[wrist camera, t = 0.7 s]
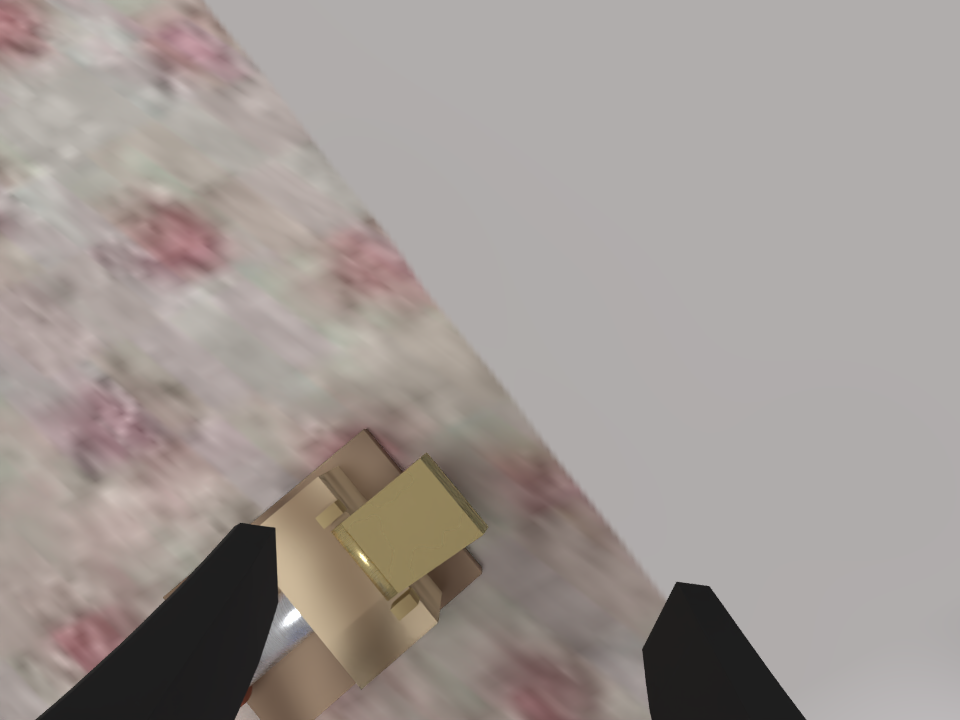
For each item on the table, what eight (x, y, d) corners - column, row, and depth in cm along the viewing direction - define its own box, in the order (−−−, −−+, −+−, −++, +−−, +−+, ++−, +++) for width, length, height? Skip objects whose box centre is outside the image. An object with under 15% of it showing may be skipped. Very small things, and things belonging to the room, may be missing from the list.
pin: (245, 696, 32) (214, 736, 28) (203, 644, 32) (168, 677, 29) (382, 577, 33) (371, 601, 29) (341, 527, 33) (324, 544, 29)
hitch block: (287, 736, 33) (244, 818, 27) (171, 591, 34) (101, 637, 27) (481, 567, 34) (485, 607, 28) (366, 428, 34) (342, 435, 28)
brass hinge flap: (393, 591, 29) (384, 604, 28) (338, 524, 29) (327, 535, 28) (489, 525, 26) (482, 536, 25) (428, 451, 26) (418, 459, 25)
